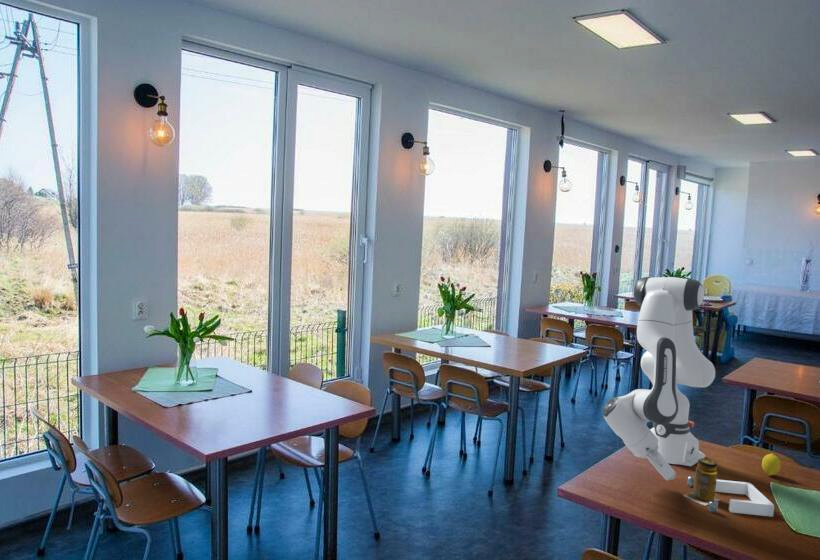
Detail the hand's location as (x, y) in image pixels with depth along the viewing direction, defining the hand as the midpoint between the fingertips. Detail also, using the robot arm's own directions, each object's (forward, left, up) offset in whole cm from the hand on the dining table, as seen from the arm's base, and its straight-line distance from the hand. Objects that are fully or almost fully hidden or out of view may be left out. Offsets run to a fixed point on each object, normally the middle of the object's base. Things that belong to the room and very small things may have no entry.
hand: (672, 476), depth 189 cm
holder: (-16, +13, -6) cm, 22 cm away
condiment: (-7, +6, -6) cm, 11 cm away
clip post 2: (-1, +13, -6) cm, 14 cm away
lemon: (-48, +7, -6) cm, 49 cm away
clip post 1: (-13, -1, -6) cm, 14 cm away
